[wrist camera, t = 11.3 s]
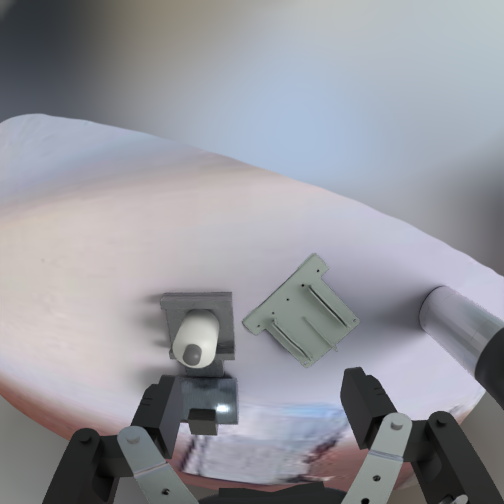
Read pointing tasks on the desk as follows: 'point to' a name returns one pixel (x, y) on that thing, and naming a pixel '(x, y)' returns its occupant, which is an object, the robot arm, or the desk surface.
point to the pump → (197, 339)
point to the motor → (203, 389)
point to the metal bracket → (304, 314)
